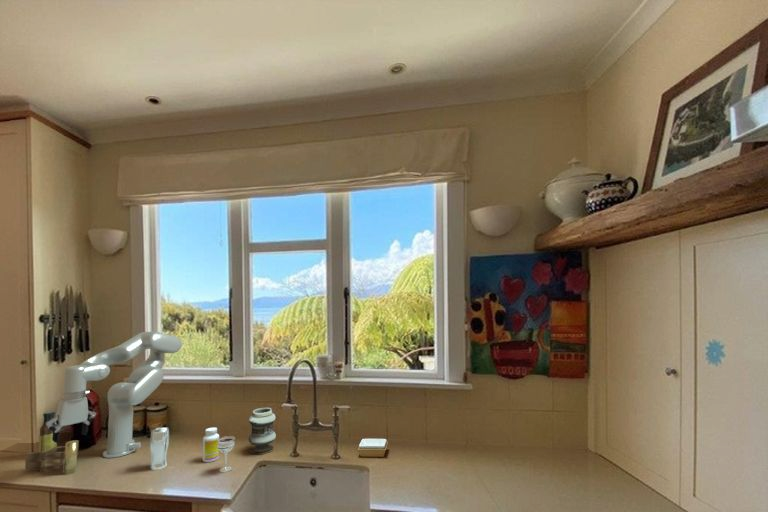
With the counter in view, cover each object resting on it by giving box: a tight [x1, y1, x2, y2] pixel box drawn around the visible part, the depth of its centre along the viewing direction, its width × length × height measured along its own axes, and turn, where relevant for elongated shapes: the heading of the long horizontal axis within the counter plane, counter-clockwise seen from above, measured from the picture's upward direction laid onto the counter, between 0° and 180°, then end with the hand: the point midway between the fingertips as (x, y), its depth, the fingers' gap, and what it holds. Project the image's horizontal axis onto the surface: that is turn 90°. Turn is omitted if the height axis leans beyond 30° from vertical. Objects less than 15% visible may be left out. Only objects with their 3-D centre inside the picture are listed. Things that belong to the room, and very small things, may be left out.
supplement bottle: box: [201, 427, 220, 463], centre depth 169 cm, size 7×7×13 cm
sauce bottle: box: [38, 410, 58, 452], centre depth 176 cm, size 7×6×20 cm
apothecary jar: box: [248, 407, 277, 455], centre depth 178 cm, size 12×12×18 cm
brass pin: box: [63, 439, 79, 475], centre depth 159 cm, size 4×4×12 cm
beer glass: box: [149, 426, 170, 471], centre depth 162 cm, size 7×7×15 cm
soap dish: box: [357, 438, 389, 458], centre depth 171 cm, size 12×10×5 cm
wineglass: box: [217, 435, 236, 473], centre depth 158 cm, size 7×7×12 cm
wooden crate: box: [24, 439, 80, 474], centre depth 167 cm, size 16×16×7 cm
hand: (70, 438), depth 159 cm, fingers open, 9 cm apart
